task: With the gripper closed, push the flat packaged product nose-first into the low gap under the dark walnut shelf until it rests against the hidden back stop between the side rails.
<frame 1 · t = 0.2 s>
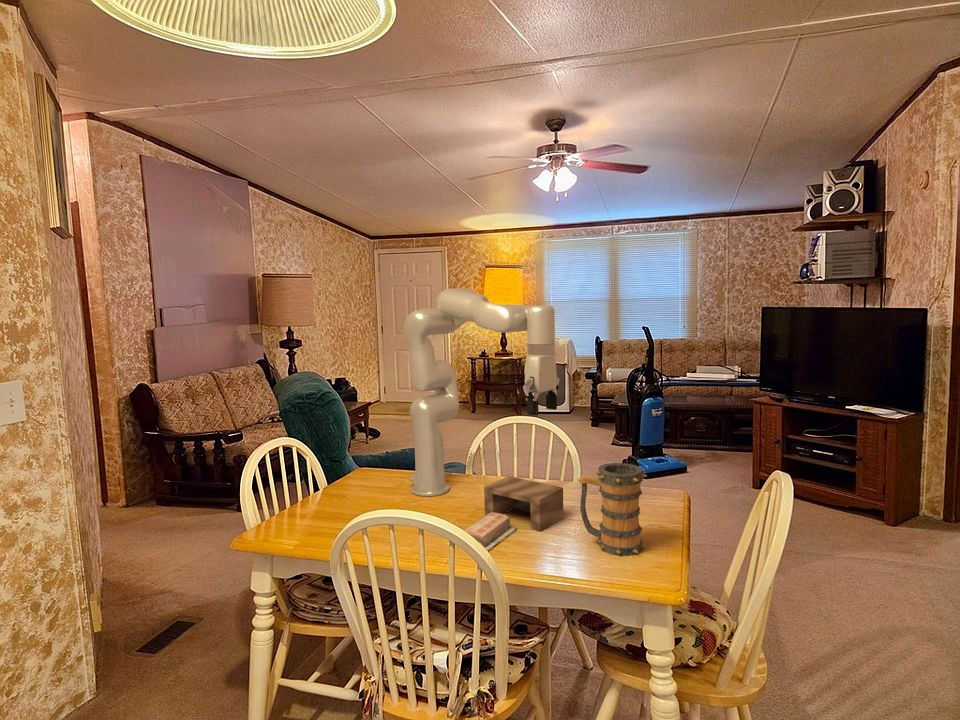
hand: (542, 412, 162), 31 cm above the table, tool pointing down, fingers open, 9 cm apart
walnut shelf: (523, 517, 168), on the table
packaged product: (484, 540, 154), on the table
mug: (611, 546, 147), on the table
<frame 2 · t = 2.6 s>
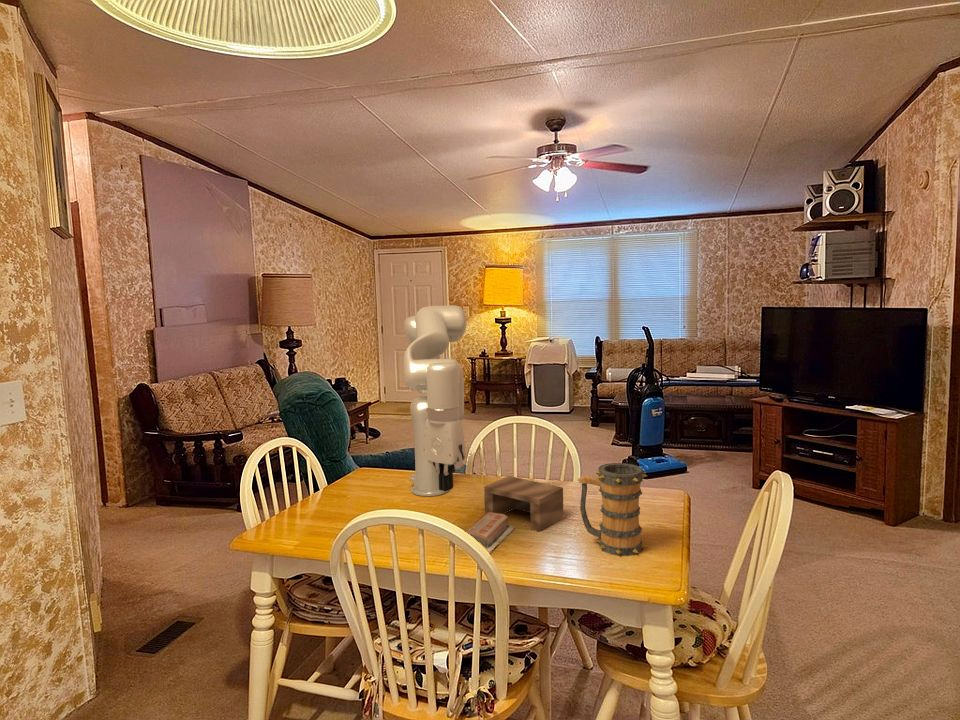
hand: (446, 489, 142), 17 cm above the table, tool pointing down, fingers closed
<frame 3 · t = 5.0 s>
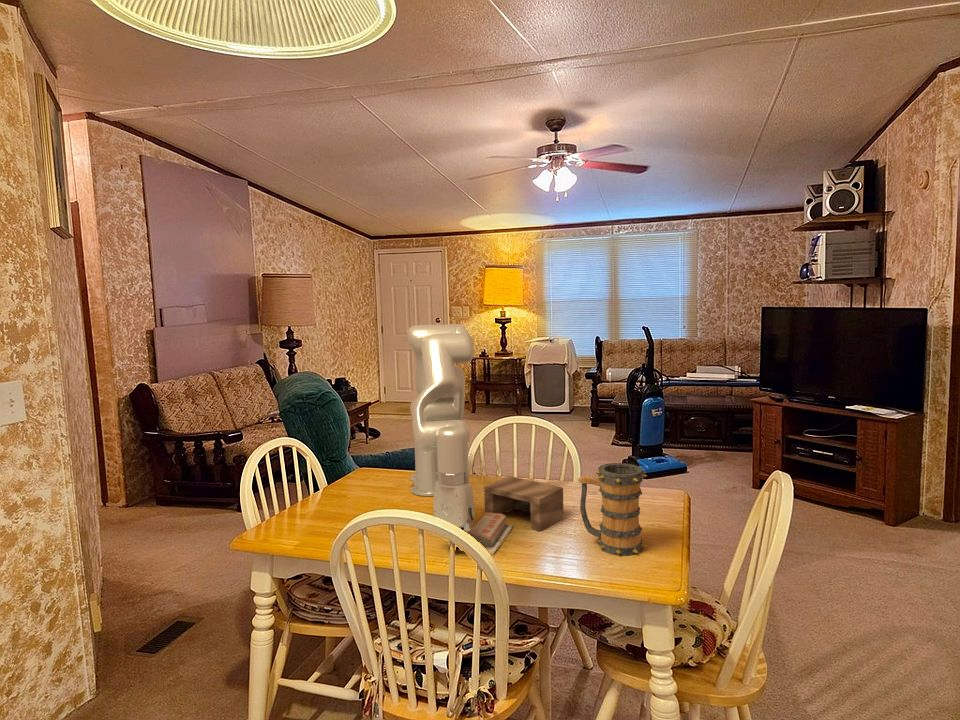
hand: (455, 549, 145), 1 cm above the table, tool pointing down, fingers closed
packaged product: (485, 541, 154), on the table, touching gripper
everything else where it was.
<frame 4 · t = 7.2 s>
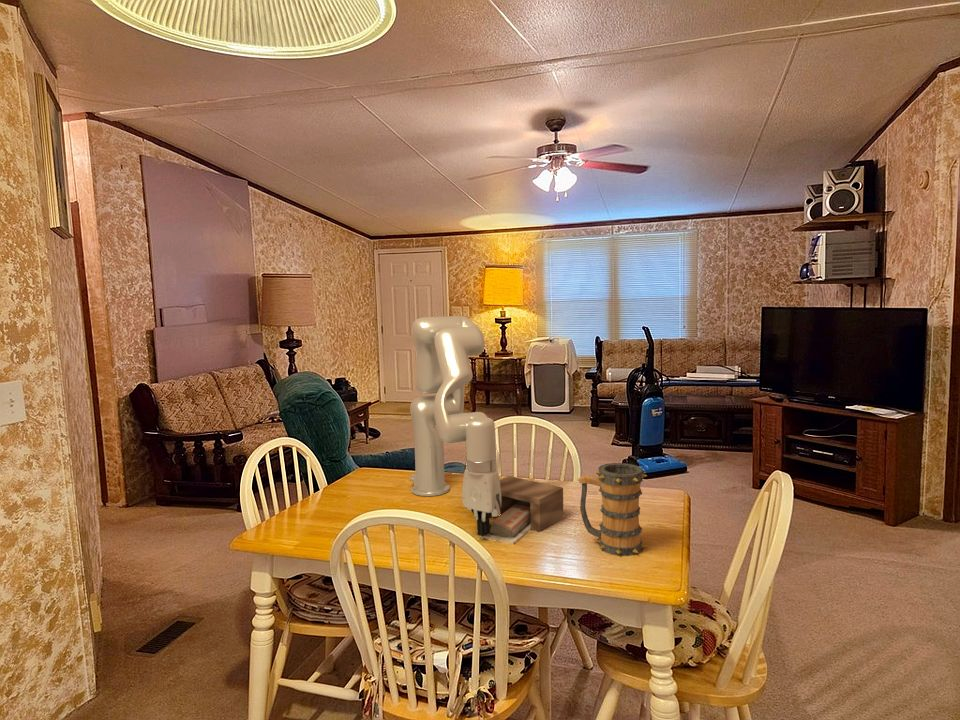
hand: (483, 534, 153), 1 cm above the table, tool pointing down, fingers closed
packaged product: (511, 532, 160), on the table, touching gripper
everything else where it was.
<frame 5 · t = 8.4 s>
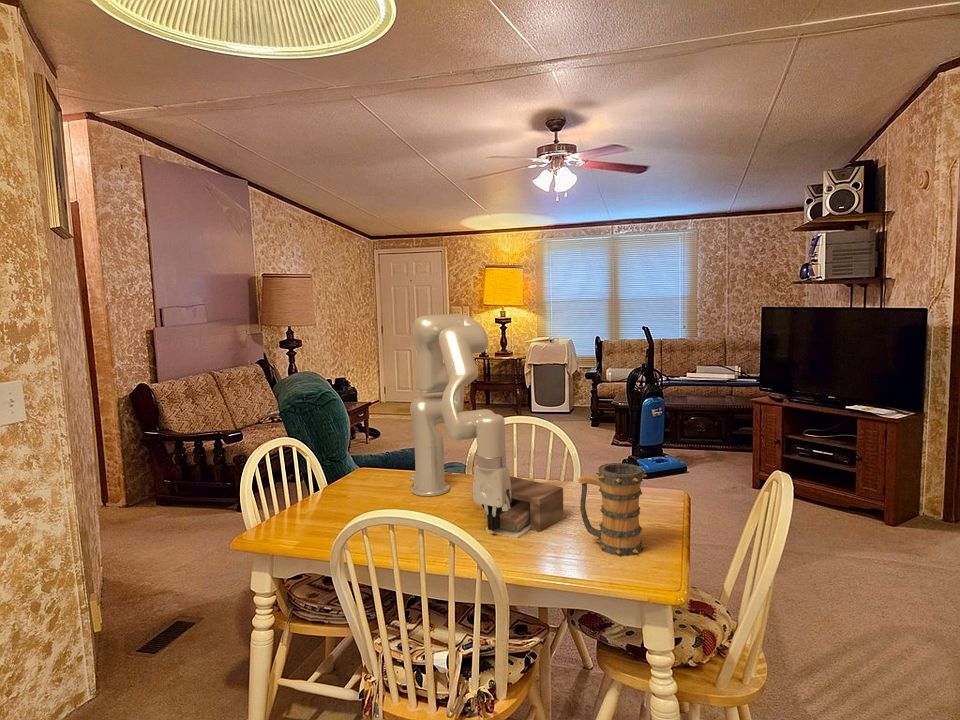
hand: (493, 528, 156), 2 cm above the table, tool pointing down, fingers closed
packaged product: (517, 527, 163), on the table
everything else where it was.
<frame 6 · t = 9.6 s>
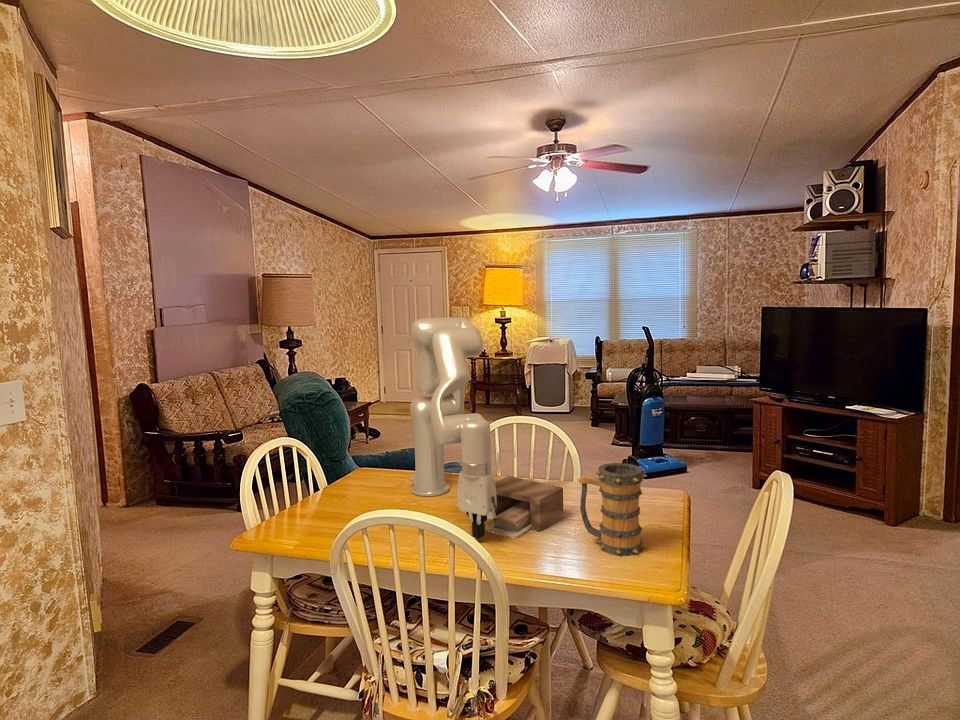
hand: (478, 536, 152), 1 cm above the table, tool pointing down, fingers closed
nothing on the table moved.
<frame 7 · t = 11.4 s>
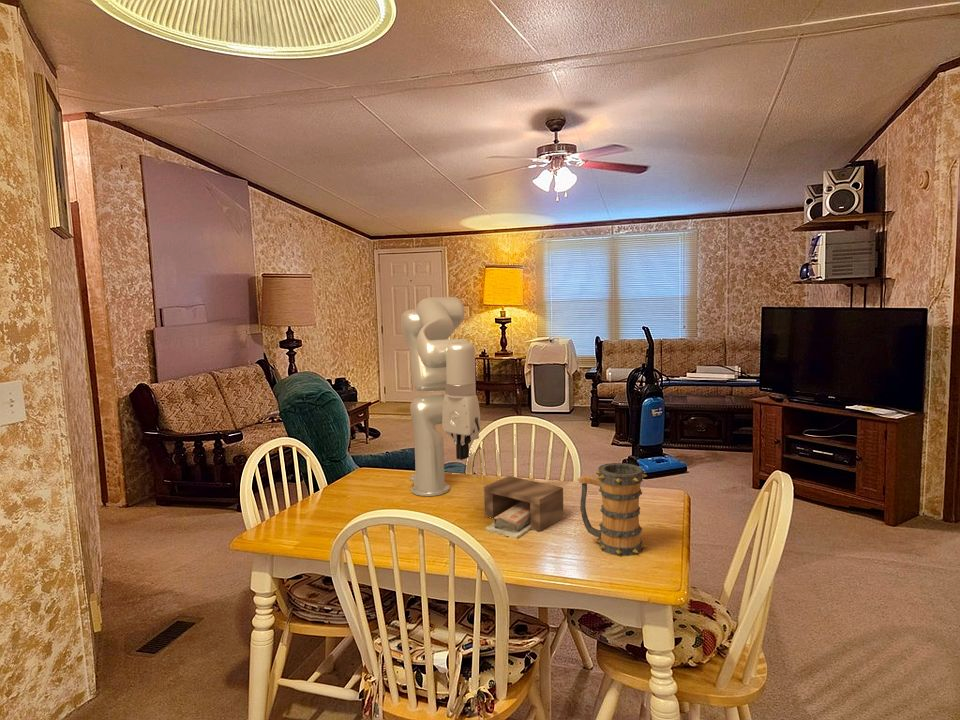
hand: (462, 458, 155), 21 cm above the table, tool pointing down, fingers closed
nothing on the table moved.
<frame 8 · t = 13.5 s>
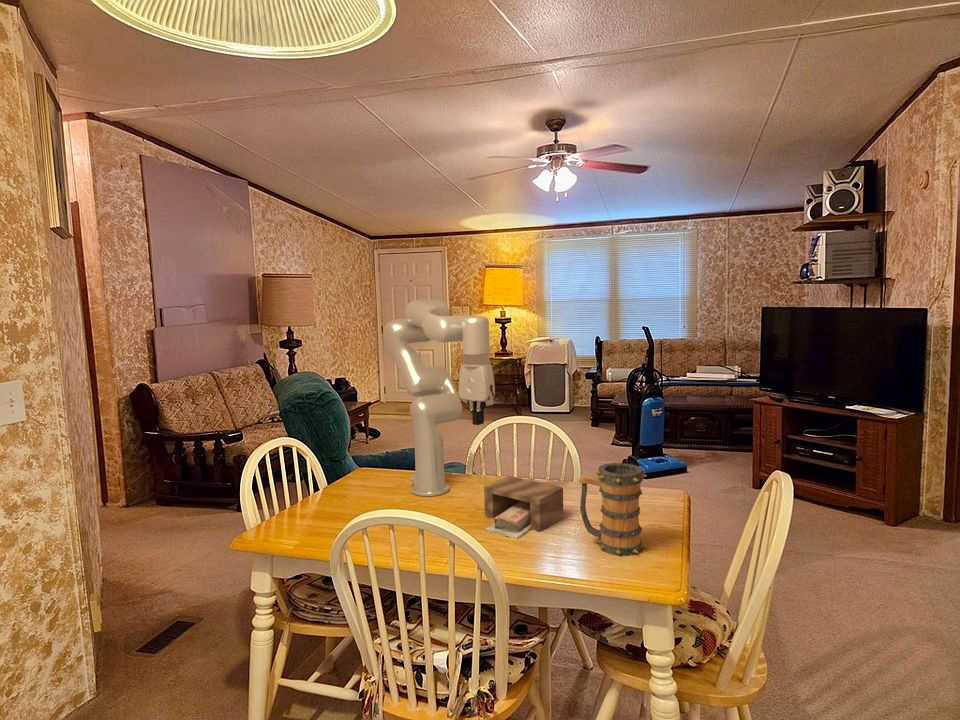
hand: (478, 423, 167), 27 cm above the table, tool pointing down, fingers closed
nothing on the table moved.
at the end: packaged product 1.6 cm from the target spot, on the table; packaged product tilted 0° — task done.
